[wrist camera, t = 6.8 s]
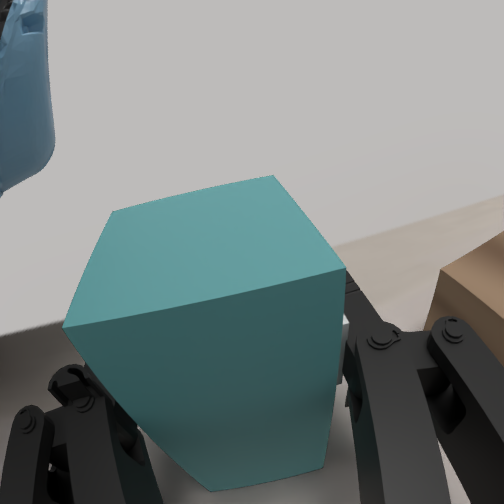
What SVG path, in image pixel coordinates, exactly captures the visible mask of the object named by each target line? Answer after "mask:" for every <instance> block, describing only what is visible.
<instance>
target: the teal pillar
mask: <svg viewBox="0 0 504 504" xmlns="http://www.w3.org/2000/svg"><path fill="white" fill-rule="evenodd" d="M345 284H346V266H345V265H344V264H343V262H342V261H341V260H340V258H339V257H338V256H337V254H336V253H335V252H334V250H333V249H332V248H331V247H330V245H329V244H328V243H327V241H326V240H325V239H324V237H323V236H322V235H321V234H320V233H319V231H318V230H317V229H316V227H315V226H314V225H313V223H312V222H311V221H310V220H309V218H308V217H307V216H306V215H305V213H304V212H303V211H302V210H301V208H300V207H299V206H298V205H297V203H296V202H295V201H294V200H293V198H292V197H291V196H290V195H289V194H288V192H287V191H286V190H285V189H284V188H283V186H282V185H281V184H280V183H279V182H278V180H277V179H276V178H275V177H274V176H273V175H271V176H266V177H260V178H255V179H250V180H245V181H240V182H235V183H230V184H225V185H220V186H215V187H211V188H206V189H202V190H197V191H193V192H188V193H185V194H180V195H176V196H172V197H167V198H163V199H159V200H156V201H151V202H147V203H143V204H139V205H135V206H132V207H128V208H124V209H120V210H117V211H113V212H112V213H111V216H110V217H109V219H108V222H107V223H106V225H105V227H104V229H103V231H102V233H101V236H100V238H99V240H98V242H97V244H96V246H95V248H94V250H93V252H92V255H91V257H90V259H89V262H88V264H87V266H86V268H85V270H84V273H83V275H82V277H81V280H80V282H79V285H78V287H77V290H76V292H75V295H74V297H73V300H72V302H71V305H70V307H69V310H68V313H67V315H66V318H65V321H64V323H63V326H62V329H63V331H64V332H65V334H66V335H67V337H68V338H69V340H70V341H71V342H72V344H73V345H74V347H75V348H76V350H77V351H78V352H79V354H80V355H81V357H82V358H83V359H84V361H85V362H86V363H87V365H88V366H89V367H90V369H91V370H92V371H93V373H94V374H95V375H96V376H97V378H98V379H99V380H100V382H101V383H102V384H103V385H104V387H105V388H106V389H107V390H108V391H109V393H110V394H111V395H112V396H113V397H114V399H115V400H116V401H117V402H118V403H119V404H120V406H121V407H122V408H123V409H124V410H125V411H126V412H127V414H128V415H129V416H130V417H131V418H132V419H133V420H134V421H135V422H136V423H137V424H138V426H139V427H140V428H141V429H142V430H143V431H144V432H145V433H146V434H147V435H148V436H149V437H150V438H151V439H152V440H153V441H154V442H155V443H156V444H157V445H158V446H159V447H160V448H161V449H162V450H163V451H164V452H165V453H166V454H167V455H168V456H169V457H171V458H172V459H173V460H174V461H175V462H176V463H177V464H178V465H179V466H180V467H181V468H183V469H184V470H185V471H186V472H187V473H188V474H189V475H191V476H192V477H193V478H194V479H195V480H196V481H198V482H199V483H200V484H201V485H202V486H204V487H205V488H206V489H207V490H209V491H210V492H213V491H220V490H228V489H234V488H240V487H246V486H251V485H257V484H262V483H266V482H271V481H275V480H280V479H284V478H288V477H292V476H296V475H300V474H303V473H307V472H310V471H314V470H317V469H321V468H323V465H324V460H325V454H326V449H327V443H328V438H329V432H330V426H331V419H332V413H333V406H334V399H335V392H336V384H337V376H338V368H339V359H340V349H341V339H342V327H343V315H344V301H345Z"/></svg>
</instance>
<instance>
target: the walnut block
mask: <svg viewBox="0 0 504 504" xmlns="http://www.w3.org/2000/svg"><path fill="white" fill-rule="evenodd" d="M445 316H454V317H458V318H460V319H462V320H464V321H465V322H466V323H468V324H469V325H470V326H471V328H472V329H473V330H474V331H475V332H476V333H477V335H478V336H479V337H480V338H481V339H482V341H483V342H484V343H485V344H486V345H487V347H488V348H489V349H490V350H491V352H492V353H493V354H494V355H495V357H496V358H497V359H498V361H499V362H500V363H501V364H502V366H503V367H504V231H503V232H501V233H500V234H498V235H497V236H495V237H494V238H492V239H490V240H489V241H487V242H486V243H484V244H482V245H481V246H479V247H477V248H476V249H474V250H473V251H471V252H469V253H467V254H466V255H464V256H462V257H461V258H459V259H457V260H456V261H454V262H452V263H450V264H449V265H447V266H445V267H443V268H441V269H440V273H439V278H438V281H437V285H436V289H435V293H434V296H433V300H432V303H431V307H430V310H429V314H428V317H427V320H426V323H425V326H424V329H423V331H429V330H431V328H432V326H433V324H434V322H435V321H436V320H438V319H439V318H441V317H445Z"/></svg>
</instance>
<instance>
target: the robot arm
mask: <svg viewBox="0 0 504 504" xmlns="http://www.w3.org/2000/svg"><path fill="white" fill-rule="evenodd" d="M47 45H48V42H47V0H0V197H1V196H2V195H3V192H4V191H6V190H8V189H10V188H11V187H13V186H15V185H16V184H18V183H20V182H22V181H23V180H25V179H27V178H29V177H31V176H33V175H35V174H37V173H38V172H39V171H41V170H42V169H43V168H44V167H45V166H46V164H47V163H48V161H49V160H50V158H51V156H52V154H53V151H54V147H55V130H54V122H53V113H52V104H51V94H50V82H49V68H48V46H47ZM343 375H344V377H345V379H346V381H347V383H348V391H347V396H346V401H345V407H349V409H350V416H351V423H352V430H353V437H354V445H355V453H356V461H357V470H358V480H359V490H360V501H361V504H451V501H450V495H449V490H448V485H447V480H446V475H445V470H444V466H443V461H442V457H441V453H440V448H439V444H438V441H439V442H440V444H441V446H442V448H443V450H444V452H445V453H446V455H447V457H448V459H449V461H450V463H451V465H452V467H453V468H454V470H455V472H456V474H457V476H458V478H459V480H460V482H461V484H462V486H463V488H464V490H465V492H466V494H467V496H468V498H469V500H470V502H471V504H504V367H503V366H502V364H501V363H500V362H499V361H498V359H497V358H496V357H495V355H494V354H493V353H492V352H491V350H490V349H489V348H488V347H487V345H486V344H485V343H484V342H483V341H482V339H481V338H480V337H479V336H478V335H477V333H476V332H475V331H474V330H473V329H472V328H471V326H470V325H469V324H468V323H466V322H465V321H464V320H462V319H460V318H458V317H454V316H445V317H441V318H439V319H438V320H436V321H435V322H434V324H433V326H432V328H431V330H429V331H417V332H403V331H401V330H400V329H399V328H398V327H396V326H395V325H394V324H391V323H388V322H384V321H383V320H382V319H381V318H380V316H379V315H378V313H377V312H376V310H375V309H374V308H373V306H372V305H371V303H370V302H369V300H368V299H367V298H366V296H365V295H364V293H363V292H362V291H360V288H359V286H358V285H357V284H356V283H355V282H354V280H353V278H352V277H351V275H350V274H349V273H348V271H346V284H345V301H344V315H343V327H342V339H341V349H340V359H339V368H338V376H337V384H336V385H339V384H342V377H343ZM48 391H49V392H50V393H51V394H52V395H53V396H54V397H55V398H56V399H57V400H58V401H59V402H60V403H61V404H62V405H63V406H62V407H59V408H57V409H54V410H51V411H49V412H46V413H44V412H43V411H42V410H41V409H40V408H39V407H38V406H34V405H30V406H26V407H24V408H22V409H21V410H20V411H19V412H18V413H17V415H16V416H15V418H14V421H13V424H12V428H11V432H10V437H9V441H8V446H7V451H6V456H5V461H4V467H3V473H2V479H1V486H0V504H164V503H163V500H162V497H161V494H160V491H159V488H158V485H157V482H156V479H155V476H154V473H153V469H152V466H151V463H150V459H149V456H148V452H147V449H146V445H145V441H144V438H143V436H142V434H141V432H140V431H139V430H138V429H137V423H136V422H135V421H134V420H133V419H132V418H131V417H130V416H129V415H128V414H127V412H126V411H125V410H124V409H123V408H122V407H121V406H120V404H119V403H118V402H117V401H116V400H115V399H114V397H113V396H112V395H111V394H110V393H109V391H108V390H107V389H106V388H105V387H104V385H103V384H102V383H101V382H100V380H99V379H98V378H97V376H96V375H95V374H94V373H93V371H92V370H91V369H90V367H89V366H88V365H87V363H86V362H85V365H84V367H83V366H81V365H77V364H72V365H67V366H65V367H63V368H61V369H59V370H58V371H57V372H56V373H55V374H54V375H53V377H52V379H51V380H50V382H49V386H48ZM437 439H438V440H437ZM49 463H50V464H52V467H51V470H49V471H48V468H49Z"/></svg>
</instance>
